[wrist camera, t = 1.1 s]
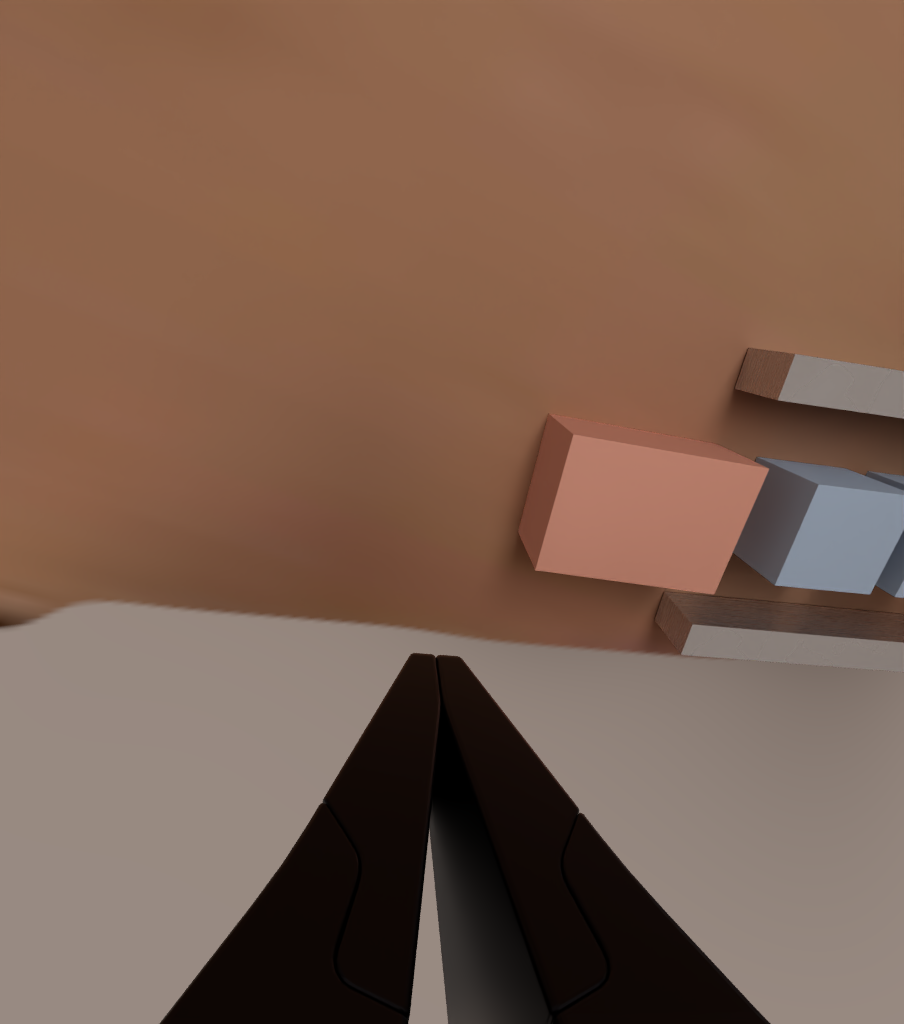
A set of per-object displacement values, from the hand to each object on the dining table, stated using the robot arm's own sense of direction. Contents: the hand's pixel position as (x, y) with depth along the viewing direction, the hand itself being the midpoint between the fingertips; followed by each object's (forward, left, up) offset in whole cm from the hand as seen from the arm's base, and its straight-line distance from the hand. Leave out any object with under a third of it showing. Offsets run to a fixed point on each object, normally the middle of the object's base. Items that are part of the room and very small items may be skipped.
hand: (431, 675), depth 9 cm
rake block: (-7, +3, -12) cm, 15 cm away
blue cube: (-14, +6, -12) cm, 20 cm away
